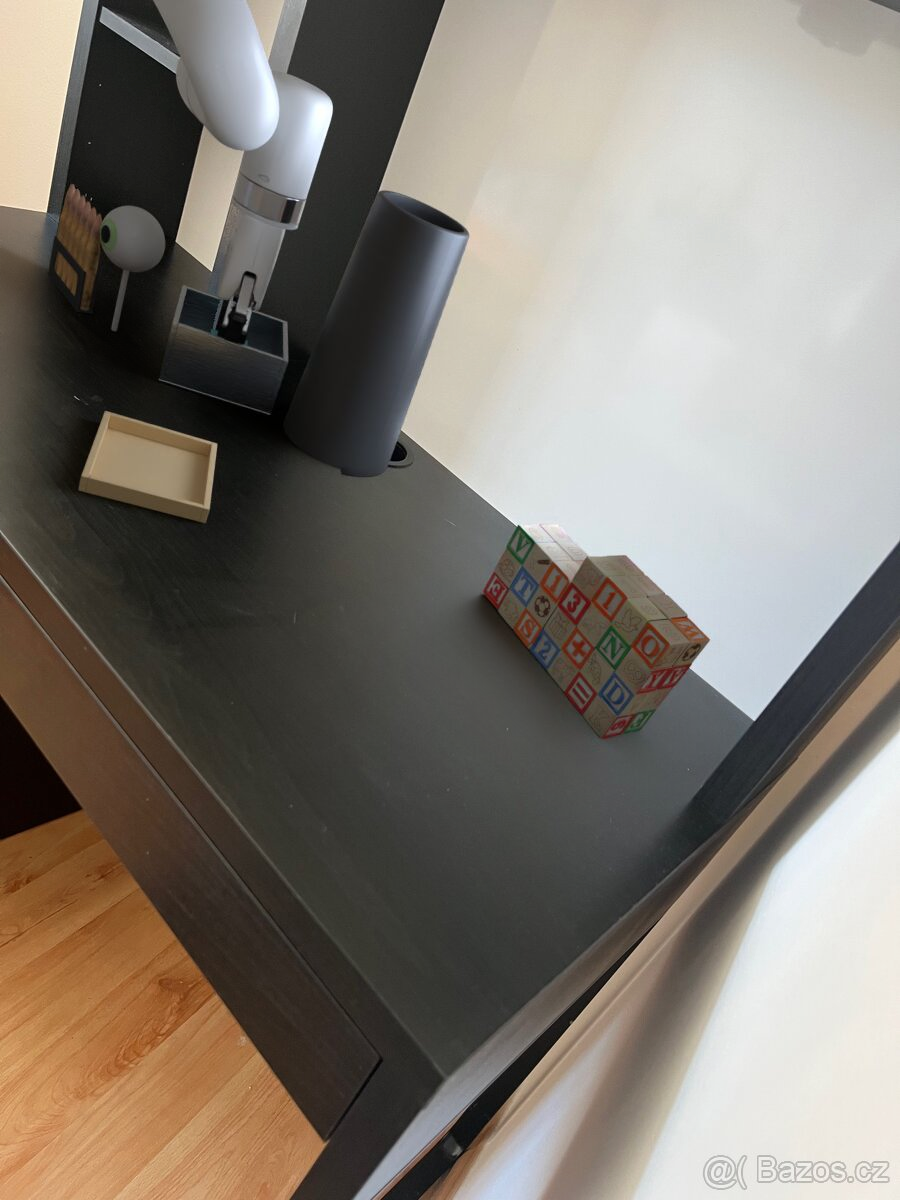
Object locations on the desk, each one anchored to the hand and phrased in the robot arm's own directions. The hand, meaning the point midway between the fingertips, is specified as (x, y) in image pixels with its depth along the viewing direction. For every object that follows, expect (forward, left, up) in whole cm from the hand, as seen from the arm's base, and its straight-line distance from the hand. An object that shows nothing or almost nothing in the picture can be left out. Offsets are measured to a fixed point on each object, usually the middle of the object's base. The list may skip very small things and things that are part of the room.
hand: (226, 348), depth 103 cm
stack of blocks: (+37, -41, -5) cm, 55 cm away
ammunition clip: (-19, +12, -5) cm, 23 cm away
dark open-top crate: (0, 0, -4) cm, 4 cm away
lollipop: (-13, +5, -5) cm, 15 cm away
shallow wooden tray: (-5, -27, -4) cm, 28 cm away
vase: (+15, -8, -5) cm, 18 cm away
